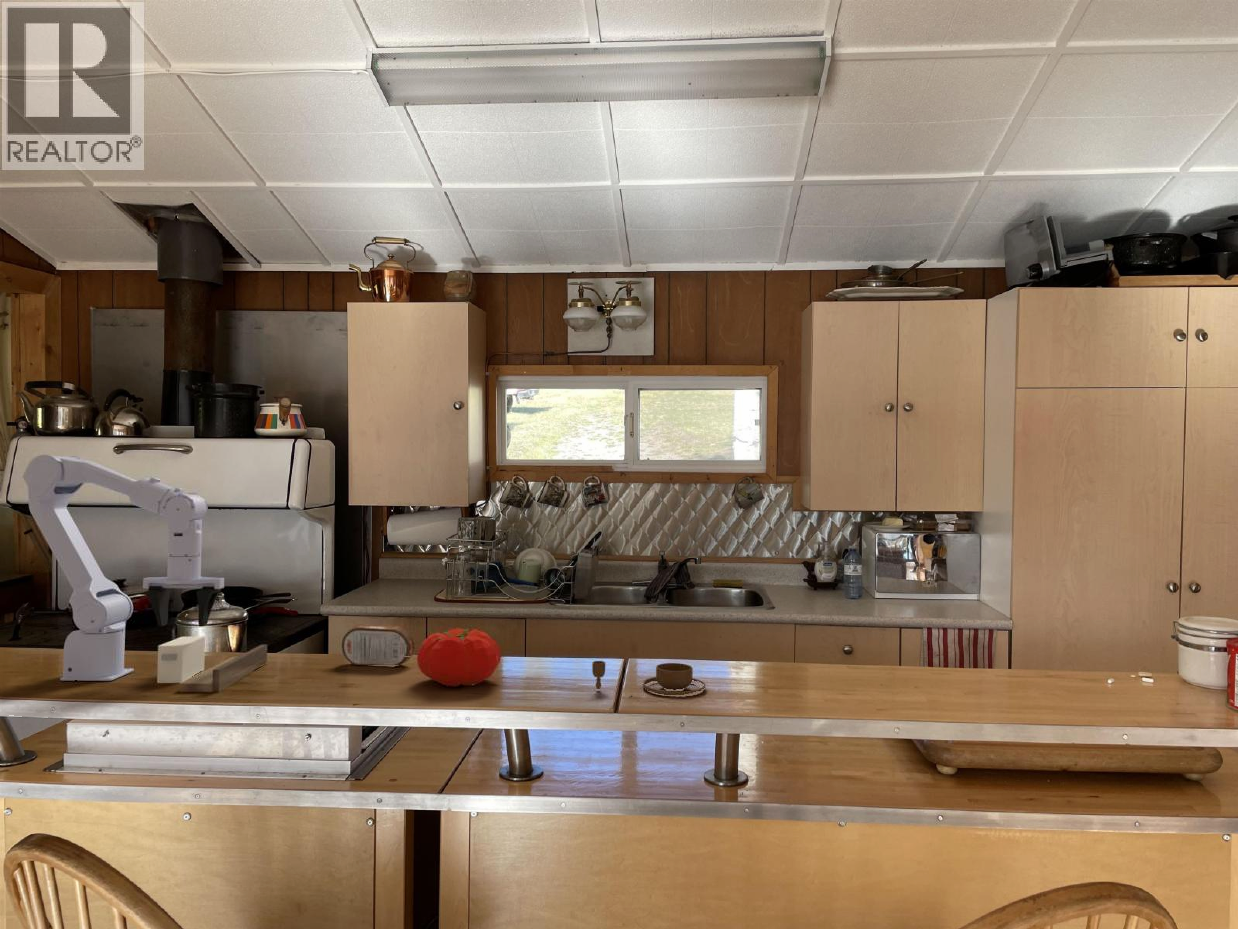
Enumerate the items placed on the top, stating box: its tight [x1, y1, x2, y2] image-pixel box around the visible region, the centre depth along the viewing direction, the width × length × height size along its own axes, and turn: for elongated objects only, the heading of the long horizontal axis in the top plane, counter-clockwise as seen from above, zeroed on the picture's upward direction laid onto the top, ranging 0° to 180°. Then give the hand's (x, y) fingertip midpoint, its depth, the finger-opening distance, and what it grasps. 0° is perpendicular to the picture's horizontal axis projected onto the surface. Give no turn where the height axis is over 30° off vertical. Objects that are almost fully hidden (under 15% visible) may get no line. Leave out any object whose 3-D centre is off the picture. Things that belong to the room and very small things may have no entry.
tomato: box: [416, 627, 502, 687], centre depth 153 cm, size 14×16×10 cm
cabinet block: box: [156, 636, 206, 684], centre depth 154 cm, size 4×10×7 cm, turn 3°
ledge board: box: [178, 644, 268, 693], centre depth 155 cm, size 7×22×4 cm, turn 3°
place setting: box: [591, 660, 707, 695], centre depth 152 cm, size 18×20×6 cm
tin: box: [341, 623, 415, 666], centre depth 166 cm, size 15×3×8 cm, turn 84°
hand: (182, 625), depth 155 cm, fingers open, 7 cm apart
